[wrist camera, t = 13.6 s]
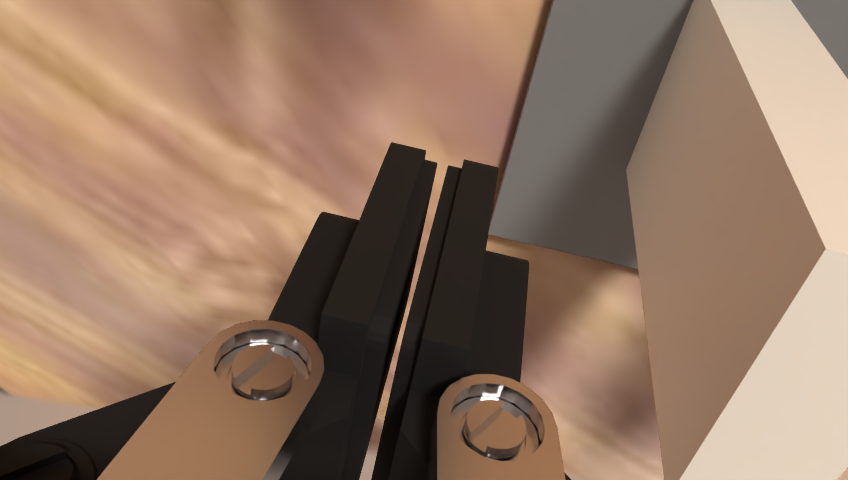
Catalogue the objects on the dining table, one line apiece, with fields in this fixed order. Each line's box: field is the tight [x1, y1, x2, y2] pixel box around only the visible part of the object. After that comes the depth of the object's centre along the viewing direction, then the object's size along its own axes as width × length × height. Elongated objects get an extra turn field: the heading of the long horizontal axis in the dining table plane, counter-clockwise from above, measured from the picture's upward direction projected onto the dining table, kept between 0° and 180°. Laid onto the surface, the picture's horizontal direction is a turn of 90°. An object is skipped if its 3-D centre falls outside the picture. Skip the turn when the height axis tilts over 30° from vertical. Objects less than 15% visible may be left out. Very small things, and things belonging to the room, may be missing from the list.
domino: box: [626, 0, 848, 480], centre depth 14 cm, size 2×5×10 cm, turn 170°
